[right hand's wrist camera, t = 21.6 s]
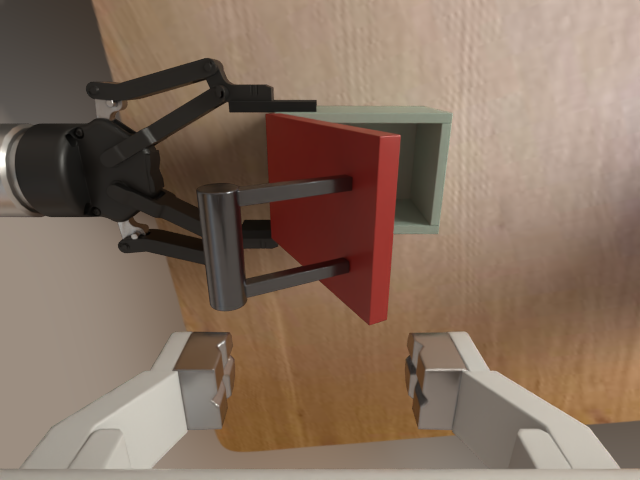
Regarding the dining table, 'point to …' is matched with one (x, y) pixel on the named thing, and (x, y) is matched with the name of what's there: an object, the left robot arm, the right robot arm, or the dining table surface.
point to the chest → (406, 156)
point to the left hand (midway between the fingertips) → (316, 170)
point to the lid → (311, 215)
